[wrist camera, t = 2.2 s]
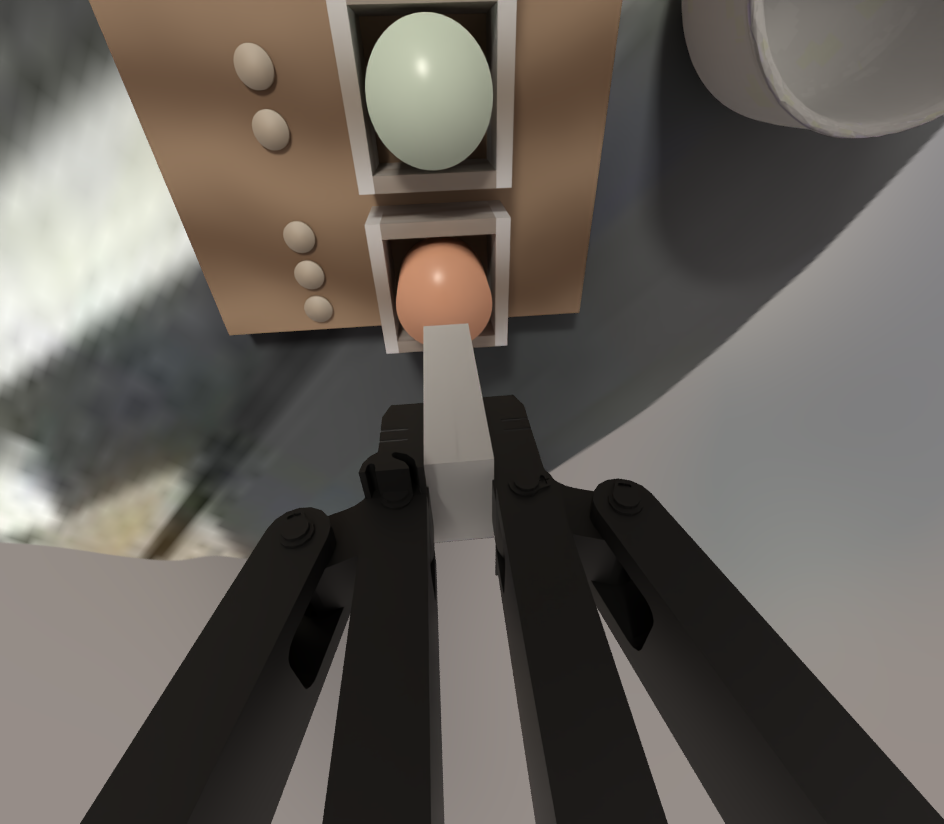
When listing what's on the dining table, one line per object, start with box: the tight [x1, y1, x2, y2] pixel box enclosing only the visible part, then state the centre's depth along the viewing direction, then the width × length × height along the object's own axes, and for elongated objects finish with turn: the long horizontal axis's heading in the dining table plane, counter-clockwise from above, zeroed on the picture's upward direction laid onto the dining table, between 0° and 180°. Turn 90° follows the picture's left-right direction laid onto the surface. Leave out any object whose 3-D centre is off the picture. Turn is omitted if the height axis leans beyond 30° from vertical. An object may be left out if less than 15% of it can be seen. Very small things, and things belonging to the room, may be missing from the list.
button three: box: [396, 236, 492, 344], centre depth 19 cm, size 4×4×3 cm
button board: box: [89, 0, 622, 354], centre depth 17 cm, size 20×19×5 cm
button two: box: [365, 12, 493, 170], centre depth 15 cm, size 4×4×3 cm
